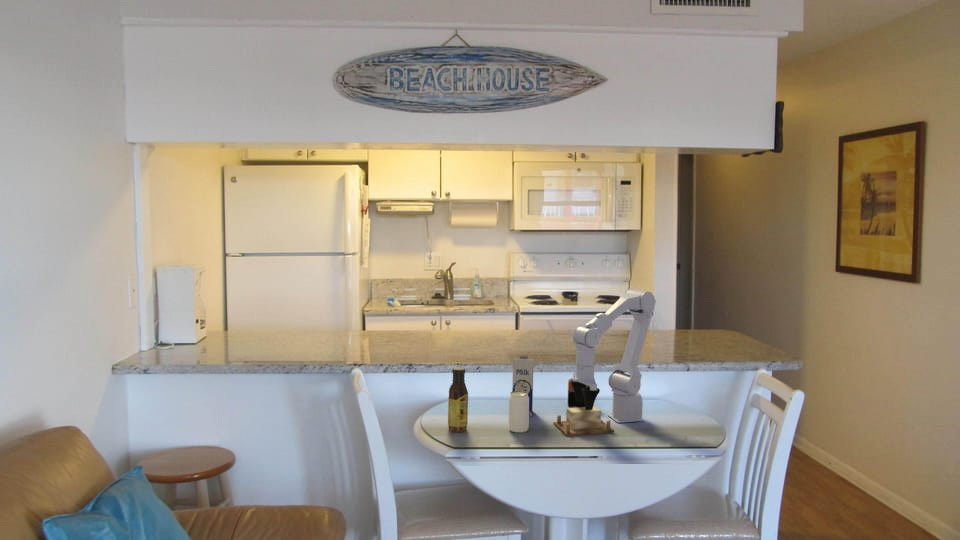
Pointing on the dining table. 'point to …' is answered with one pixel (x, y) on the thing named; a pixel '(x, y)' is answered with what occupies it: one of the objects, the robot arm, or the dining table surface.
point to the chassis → (586, 431)
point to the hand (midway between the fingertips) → (584, 405)
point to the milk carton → (524, 378)
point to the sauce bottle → (458, 402)
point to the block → (583, 418)
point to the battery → (573, 397)
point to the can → (518, 412)
